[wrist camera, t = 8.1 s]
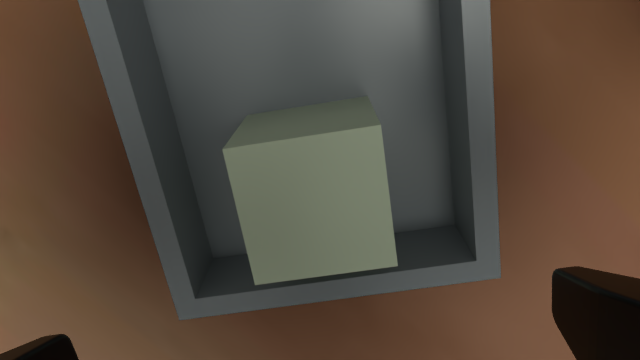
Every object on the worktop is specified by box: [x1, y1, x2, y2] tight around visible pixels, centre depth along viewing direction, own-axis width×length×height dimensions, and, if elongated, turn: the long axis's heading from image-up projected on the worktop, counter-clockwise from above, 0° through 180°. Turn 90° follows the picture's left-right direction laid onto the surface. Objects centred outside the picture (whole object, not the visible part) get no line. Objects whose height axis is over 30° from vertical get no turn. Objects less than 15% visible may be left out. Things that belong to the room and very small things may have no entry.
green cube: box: [222, 96, 398, 285], centre depth 16 cm, size 4×4×4 cm
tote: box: [78, 0, 501, 320], centre depth 16 cm, size 17×12×4 cm
